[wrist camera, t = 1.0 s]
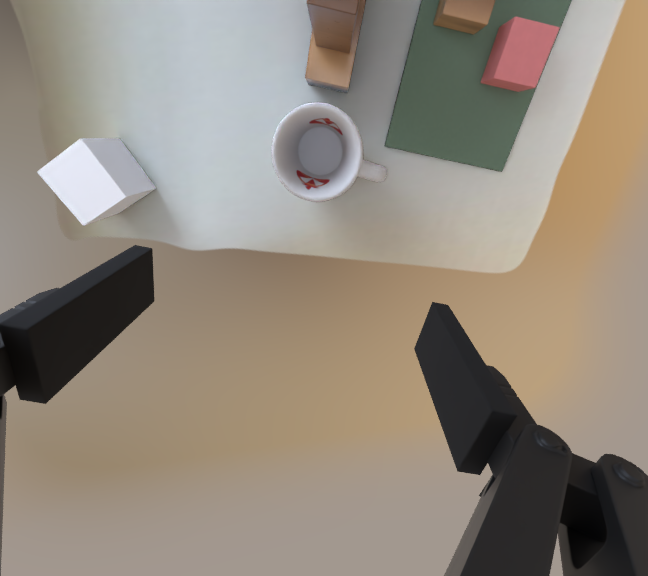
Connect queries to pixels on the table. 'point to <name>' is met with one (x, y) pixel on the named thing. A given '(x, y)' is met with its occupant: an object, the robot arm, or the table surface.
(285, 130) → the cup
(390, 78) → the table surface
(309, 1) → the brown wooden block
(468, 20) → the cork block
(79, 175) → the white cube
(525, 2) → the desk mat
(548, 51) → the eraser block
